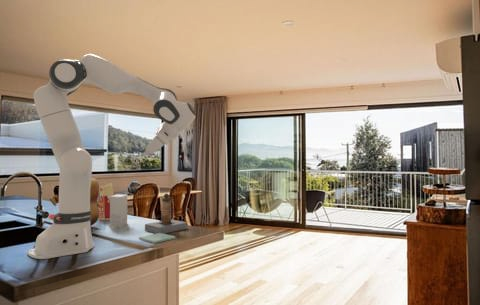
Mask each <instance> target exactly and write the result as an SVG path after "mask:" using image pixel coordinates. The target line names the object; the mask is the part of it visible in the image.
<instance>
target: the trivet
mask: <svg viewBox="0 0 480 305" xmlns="http://www.w3.org/2000/svg"><path fill="white" fill-rule="evenodd" d="M138 239H139V240H141V241H145V242H147V243H151V244H158V243H162V242H166V241H170V240H174V239H175V240H176V236H175V235H170V234H168V233H164V234H163V233H153V234H148V235H143V236H139V237H138Z"/></svg>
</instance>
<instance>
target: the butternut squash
mask: <svg viewBox="0 0 480 305" xmlns="http://www.w3.org/2000/svg"><path fill="white" fill-rule="evenodd" d="M99 194H100V183H99V181H98V179H97V178H94V177H91V187H90V210H91V224H90V225H92V226H93V225H95V224H96V223H97V222H98V220H99V209H98V207H99V205H98V199H99V198H98V197H99Z"/></svg>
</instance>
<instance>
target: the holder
mask: <svg viewBox="0 0 480 305" xmlns="http://www.w3.org/2000/svg"><path fill="white" fill-rule="evenodd" d="M187 229H188V222H187V221H182V220H176V219H172V218H171V224H168V225H162V224H161V220H160V221H155V222H151V223H150V222H149V223H145V224H144V231H147V232H150V233H153V234H157V233H163V234H168V233H173V232H176V231H182V230H187Z"/></svg>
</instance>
